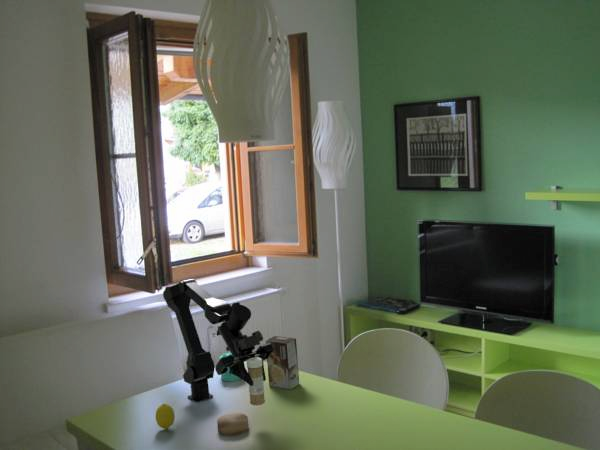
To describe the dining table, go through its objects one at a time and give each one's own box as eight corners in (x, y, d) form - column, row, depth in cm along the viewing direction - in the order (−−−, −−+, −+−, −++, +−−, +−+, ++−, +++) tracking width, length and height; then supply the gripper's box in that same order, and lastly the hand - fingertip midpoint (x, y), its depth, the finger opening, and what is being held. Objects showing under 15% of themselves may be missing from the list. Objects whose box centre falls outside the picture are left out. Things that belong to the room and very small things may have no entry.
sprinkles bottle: (262, 398, 201) (259, 355, 200) (266, 404, 197) (263, 360, 195) (248, 401, 200) (244, 358, 198) (251, 407, 196) (248, 363, 194)
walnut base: (212, 429, 198) (211, 419, 197) (237, 420, 203) (236, 410, 203) (228, 438, 191) (227, 428, 190) (254, 428, 196) (253, 419, 196)
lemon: (171, 433, 197) (169, 407, 196) (153, 433, 198) (151, 407, 197) (178, 425, 202) (176, 400, 201) (161, 425, 203) (158, 399, 202)
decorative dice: (244, 379, 237) (243, 358, 236) (222, 382, 236) (220, 360, 235) (242, 372, 245) (240, 351, 244) (220, 375, 244) (218, 354, 243)
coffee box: (300, 383, 230) (297, 338, 228) (290, 389, 225) (287, 343, 223) (278, 379, 235) (275, 335, 233) (267, 386, 230) (264, 340, 228)
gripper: (217, 331, 192) (243, 377, 186) (268, 317, 204) (294, 360, 198) (204, 352, 199) (228, 397, 193) (254, 337, 211) (279, 379, 205)
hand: (258, 382), depth 197 cm, fingers closed on sprinkles bottle, 4 cm apart
